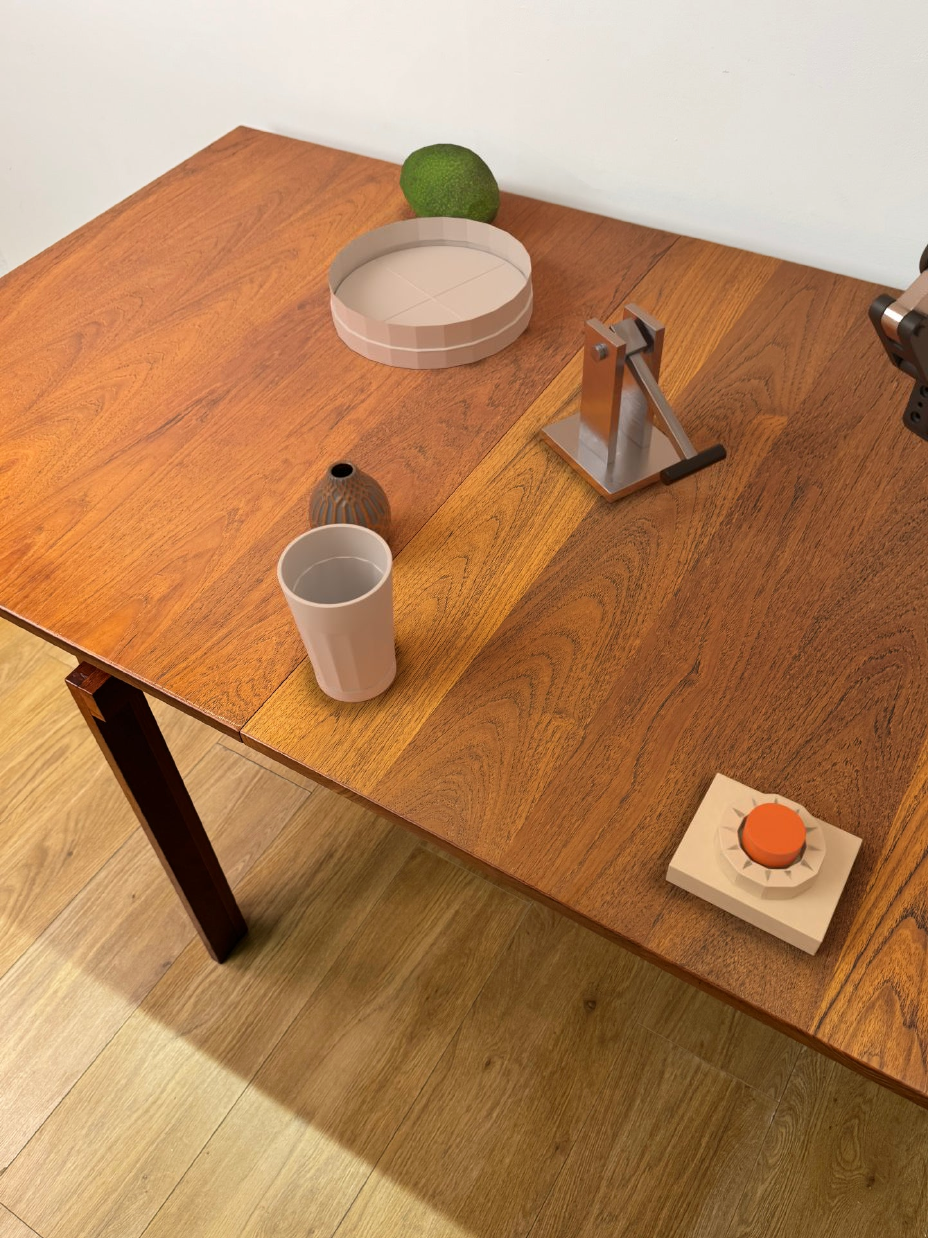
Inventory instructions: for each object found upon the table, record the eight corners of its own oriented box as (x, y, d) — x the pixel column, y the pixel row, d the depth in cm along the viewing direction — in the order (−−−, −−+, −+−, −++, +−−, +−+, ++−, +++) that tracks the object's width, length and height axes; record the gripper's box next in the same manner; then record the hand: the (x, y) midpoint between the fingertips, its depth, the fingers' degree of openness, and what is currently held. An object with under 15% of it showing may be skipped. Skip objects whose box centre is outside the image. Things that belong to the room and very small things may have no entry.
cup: (426, 653, 79) (414, 546, 70) (369, 727, 74) (348, 623, 65) (343, 616, 82) (321, 509, 72) (284, 685, 77) (253, 580, 68)
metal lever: (718, 464, 85) (732, 453, 83) (662, 490, 83) (675, 480, 81) (638, 323, 86) (649, 309, 84) (581, 346, 85) (591, 332, 82)
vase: (364, 507, 90) (352, 430, 83) (411, 548, 86) (401, 471, 80) (300, 543, 87) (282, 467, 81) (345, 587, 84) (330, 511, 77)
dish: (294, 305, 112) (286, 264, 108) (449, 236, 120) (447, 196, 116) (412, 397, 100) (408, 354, 96) (575, 313, 108) (577, 271, 105)
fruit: (384, 213, 124) (375, 131, 117) (452, 190, 127) (448, 109, 120) (444, 266, 116) (439, 182, 108) (516, 240, 119) (516, 157, 111)
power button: (808, 832, 63) (814, 819, 62) (788, 877, 61) (794, 864, 60) (754, 807, 65) (759, 793, 63) (732, 850, 63) (737, 837, 61)
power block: (854, 855, 66) (870, 825, 63) (813, 956, 62) (828, 930, 59) (712, 788, 70) (721, 757, 67) (665, 880, 66) (672, 851, 62)
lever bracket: (689, 466, 92) (711, 337, 81) (609, 503, 89) (622, 375, 78) (616, 404, 98) (628, 277, 87) (540, 438, 95) (543, 310, 85)
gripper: (1028, 165, 35) (889, 519, 48) (1256, 71, 39) (1071, 422, 52) (869, 94, 39) (781, 437, 53) (1090, 16, 44) (957, 353, 57)
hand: (926, 429), depth 53 cm, fingers closed
